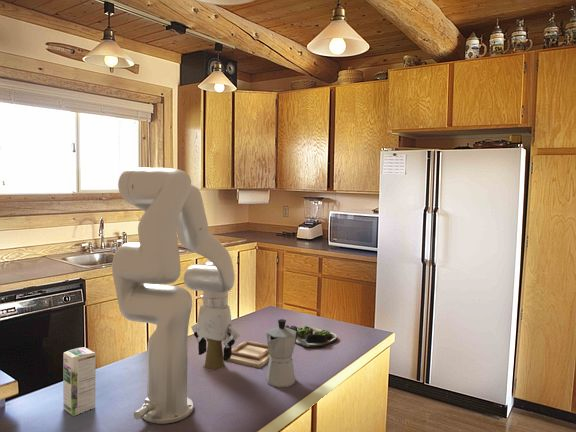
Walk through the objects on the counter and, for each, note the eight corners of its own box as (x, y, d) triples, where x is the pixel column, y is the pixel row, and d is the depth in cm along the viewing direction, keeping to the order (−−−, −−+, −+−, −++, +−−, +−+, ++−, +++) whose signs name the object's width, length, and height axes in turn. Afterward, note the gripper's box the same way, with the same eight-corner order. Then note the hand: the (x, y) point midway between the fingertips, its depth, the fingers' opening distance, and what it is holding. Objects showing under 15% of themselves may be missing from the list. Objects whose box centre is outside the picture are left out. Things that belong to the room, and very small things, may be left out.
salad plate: (271, 338, 166) (272, 326, 165) (303, 327, 179) (303, 316, 179) (312, 353, 153) (312, 340, 152) (343, 340, 166) (343, 328, 165)
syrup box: (62, 408, 112) (61, 352, 111) (85, 400, 116) (85, 345, 115) (73, 417, 108) (72, 358, 107) (96, 407, 113) (96, 351, 112)
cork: (220, 371, 136) (220, 335, 135) (201, 368, 137) (201, 333, 136) (227, 363, 142) (227, 329, 141) (208, 361, 143) (209, 327, 142)
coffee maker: (281, 393, 123) (283, 329, 121) (255, 385, 127) (256, 322, 126) (308, 374, 136) (309, 315, 134) (283, 367, 140) (284, 310, 139)
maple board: (259, 368, 139) (259, 361, 139) (220, 359, 145) (220, 353, 144) (281, 350, 153) (281, 345, 153) (246, 343, 159) (246, 338, 159)
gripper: (184, 300, 138) (184, 355, 140) (233, 308, 131) (232, 366, 132) (199, 294, 145) (198, 347, 146) (246, 302, 138) (245, 357, 139)
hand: (214, 356), depth 139 cm, fingers open, 8 cm apart
